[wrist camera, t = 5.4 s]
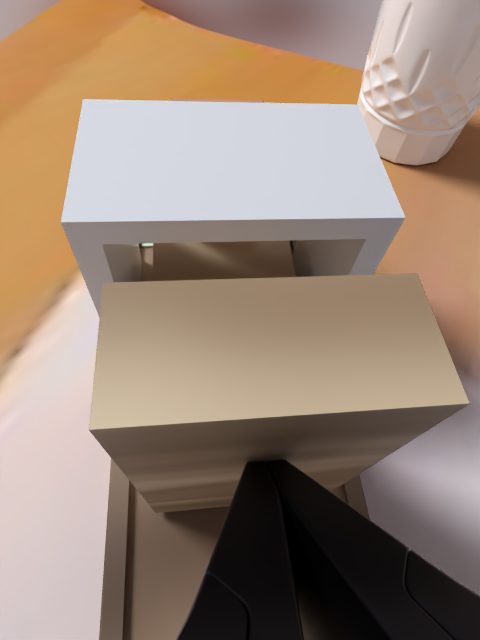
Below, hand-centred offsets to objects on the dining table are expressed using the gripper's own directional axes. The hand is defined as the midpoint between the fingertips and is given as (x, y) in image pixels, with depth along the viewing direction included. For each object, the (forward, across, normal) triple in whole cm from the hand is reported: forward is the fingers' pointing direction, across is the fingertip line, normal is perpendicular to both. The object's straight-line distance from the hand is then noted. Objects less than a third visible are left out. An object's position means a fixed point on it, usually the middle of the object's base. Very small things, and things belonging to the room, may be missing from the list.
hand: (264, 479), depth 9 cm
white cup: (+21, -13, -11) cm, 27 cm away
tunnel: (+11, 0, -1) cm, 11 cm away
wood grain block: (+9, 0, -1) cm, 10 cm away
